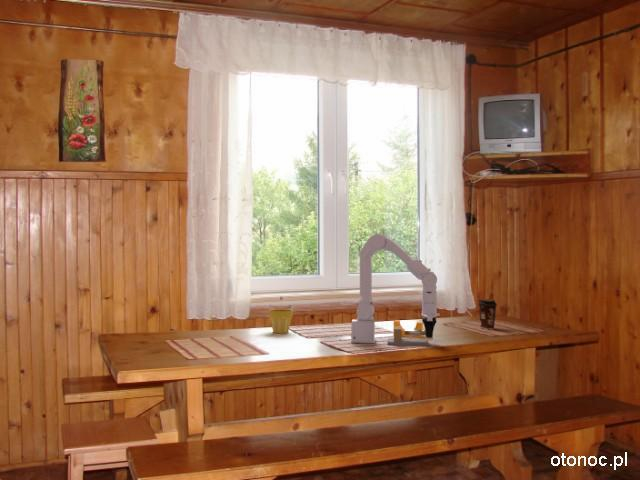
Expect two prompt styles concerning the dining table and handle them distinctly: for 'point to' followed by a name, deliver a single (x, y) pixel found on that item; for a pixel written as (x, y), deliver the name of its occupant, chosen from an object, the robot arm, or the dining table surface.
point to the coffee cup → (487, 313)
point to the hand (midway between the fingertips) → (429, 336)
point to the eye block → (400, 341)
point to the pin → (417, 333)
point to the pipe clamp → (418, 327)
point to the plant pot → (280, 319)
